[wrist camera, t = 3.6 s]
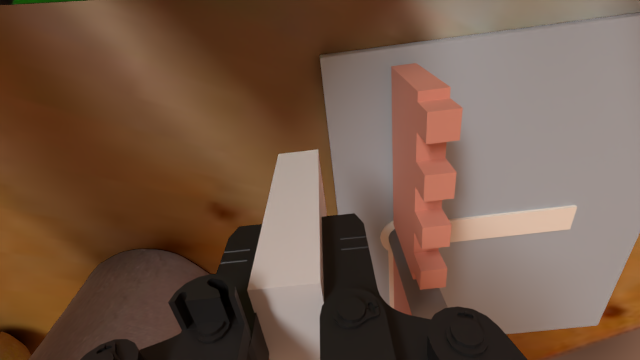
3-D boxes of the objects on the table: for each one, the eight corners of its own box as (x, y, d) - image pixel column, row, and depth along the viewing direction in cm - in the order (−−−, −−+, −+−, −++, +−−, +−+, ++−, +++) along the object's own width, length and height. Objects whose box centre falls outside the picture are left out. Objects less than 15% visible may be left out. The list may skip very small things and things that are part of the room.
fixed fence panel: (390, 340, 27) (409, 422, 22) (387, 225, 22) (412, 301, 16) (412, 337, 27) (436, 419, 22) (415, 222, 21) (449, 297, 16)
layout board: (352, 340, 29) (353, 351, 28) (319, 55, 17) (319, 58, 16) (590, 316, 28) (599, 327, 27) (726, 1, 16) (750, 1, 15)
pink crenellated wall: (393, 224, 21) (419, 298, 16) (391, 66, 16) (427, 100, 11) (412, 222, 21) (444, 295, 16) (415, 63, 16) (463, 96, 11)
